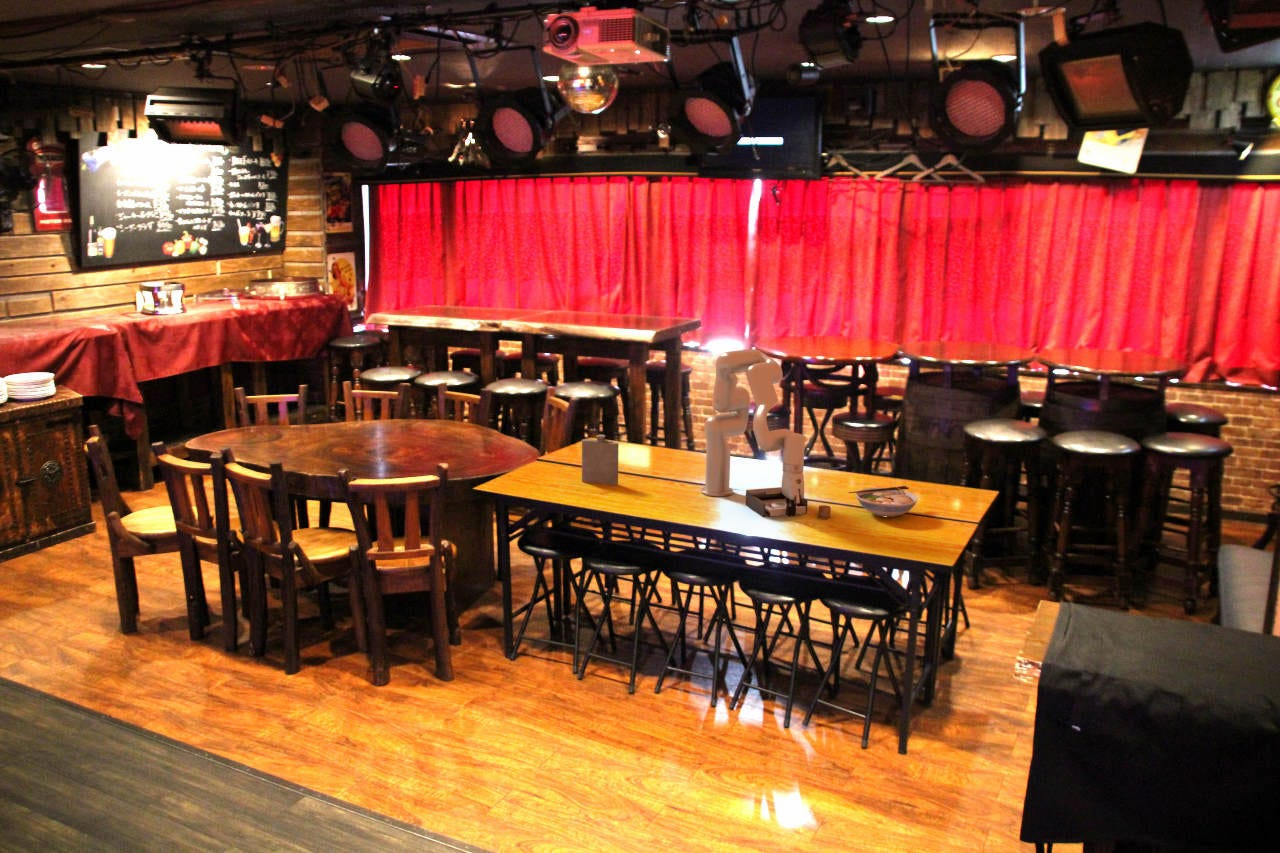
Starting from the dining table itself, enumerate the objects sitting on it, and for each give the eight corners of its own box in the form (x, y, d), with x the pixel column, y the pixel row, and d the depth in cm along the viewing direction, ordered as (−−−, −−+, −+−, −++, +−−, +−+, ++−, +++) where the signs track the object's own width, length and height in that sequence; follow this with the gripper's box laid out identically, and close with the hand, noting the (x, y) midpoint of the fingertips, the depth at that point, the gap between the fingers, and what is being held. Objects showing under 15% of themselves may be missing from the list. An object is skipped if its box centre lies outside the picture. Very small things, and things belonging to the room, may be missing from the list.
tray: (753, 504, 398) (753, 497, 397) (786, 501, 402) (787, 495, 402) (771, 516, 383) (771, 509, 383) (805, 513, 387) (805, 506, 387)
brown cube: (816, 516, 388) (816, 505, 387) (826, 515, 389) (827, 504, 388) (821, 519, 384) (822, 509, 383) (832, 518, 385) (832, 508, 384)
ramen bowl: (870, 526, 377) (871, 504, 375) (841, 508, 398) (842, 487, 396) (931, 521, 384) (933, 500, 382) (899, 503, 405) (901, 483, 403)
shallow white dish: (768, 506, 393) (768, 502, 393) (785, 505, 395) (785, 500, 395) (776, 511, 387) (776, 507, 386) (793, 510, 389) (793, 505, 389)
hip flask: (580, 481, 429) (580, 434, 425) (584, 479, 433) (584, 432, 429) (616, 486, 424) (616, 438, 419) (620, 483, 427) (620, 436, 423)
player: (745, 505, 400) (746, 489, 399) (788, 501, 406) (788, 486, 404) (762, 517, 385) (763, 501, 384) (806, 513, 391) (807, 497, 390)
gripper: (811, 471, 374) (809, 521, 378) (793, 461, 388) (791, 509, 392) (792, 473, 371) (790, 522, 375) (774, 463, 385) (772, 510, 389)
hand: (790, 515), depth 383 cm, fingers closed
